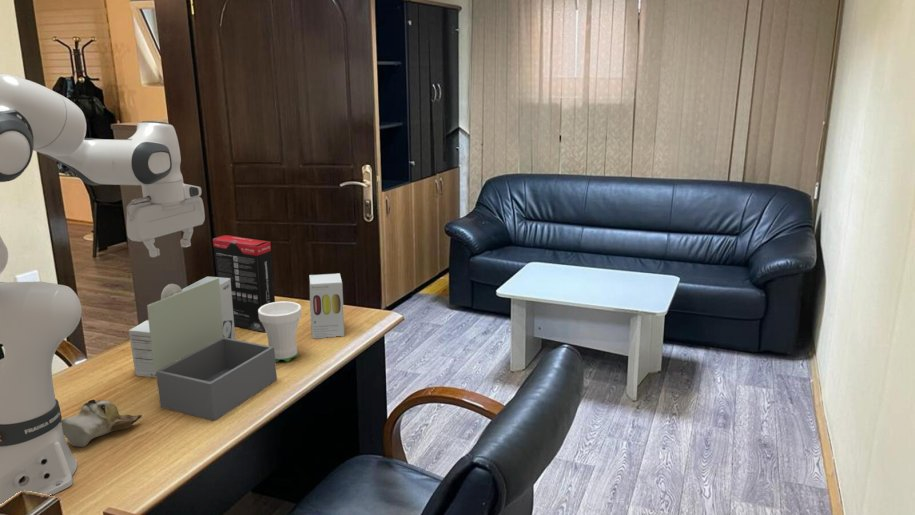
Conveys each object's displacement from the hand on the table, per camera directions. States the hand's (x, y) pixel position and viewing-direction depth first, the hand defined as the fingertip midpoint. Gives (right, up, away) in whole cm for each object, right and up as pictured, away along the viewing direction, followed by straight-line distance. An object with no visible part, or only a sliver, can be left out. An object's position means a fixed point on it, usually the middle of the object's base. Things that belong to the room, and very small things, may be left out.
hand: (170, 251), depth 158 cm
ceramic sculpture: (-10, -40, -13) cm, 43 cm away
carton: (+10, -34, +5) cm, 36 cm away
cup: (+20, -29, +25) cm, 43 cm away
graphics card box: (+4, -22, +48) cm, 53 cm away
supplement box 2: (+29, -24, +43) cm, 57 cm away
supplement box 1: (-11, -31, +17) cm, 37 cm away
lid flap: (+3, -17, +3) cm, 17 cm away
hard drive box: (-1, -28, +28) cm, 39 cm away
